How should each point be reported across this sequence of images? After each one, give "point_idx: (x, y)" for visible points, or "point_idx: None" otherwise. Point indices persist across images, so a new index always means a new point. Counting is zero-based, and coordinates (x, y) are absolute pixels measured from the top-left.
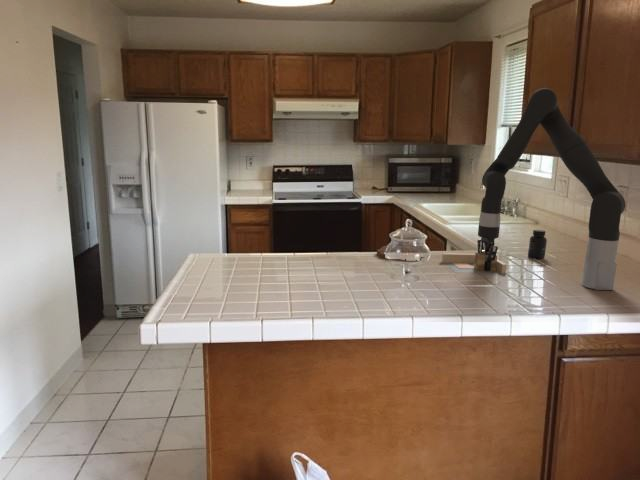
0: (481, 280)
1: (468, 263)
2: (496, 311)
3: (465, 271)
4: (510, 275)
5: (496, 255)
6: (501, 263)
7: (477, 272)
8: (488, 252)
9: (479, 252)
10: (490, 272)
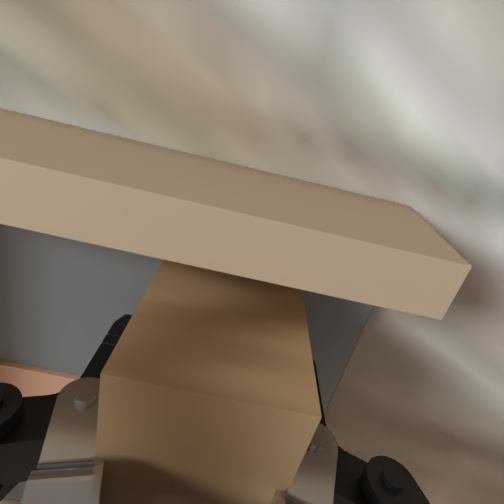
0: (455, 481)
1: None
2: None
3: None
4: (448, 157)
5: (296, 420)
6: (383, 300)
7: None
8: (102, 466)
9: (3, 491)
10: (327, 343)
